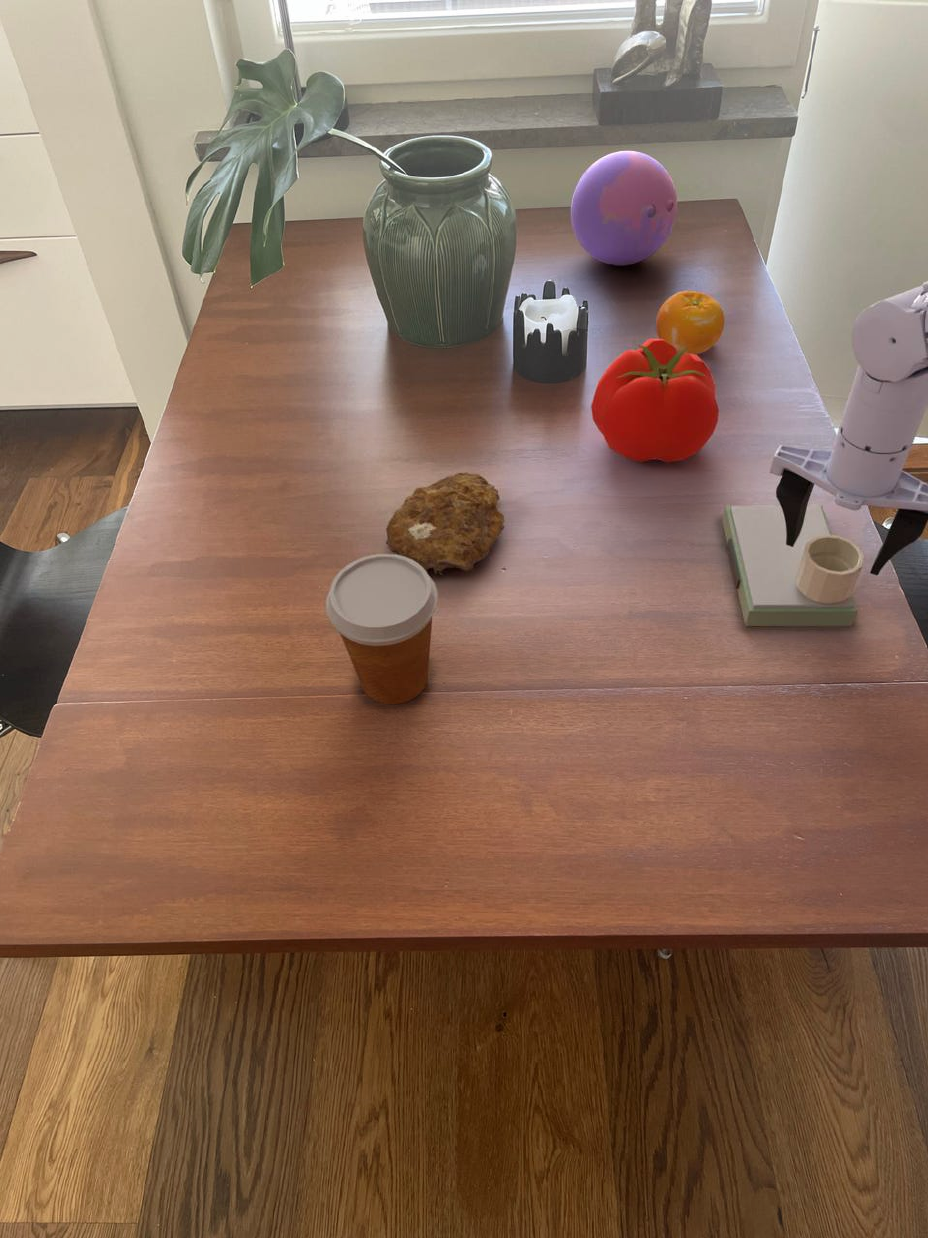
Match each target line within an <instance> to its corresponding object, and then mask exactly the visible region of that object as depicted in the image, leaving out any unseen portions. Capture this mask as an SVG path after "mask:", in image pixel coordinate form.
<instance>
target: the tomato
mask: <svg viewBox="0 0 928 1238" xmlns="http://www.w3.org/2000/svg"><path fill="white" fill-rule="evenodd" d="M635 344H636V346H637V347H639V348H638V349H637V350H633V349H627V350H625V351H624V352H622V353H621V354H620V355H619V356H618V357H616V358H615V359H614V361H612V363H611V364H610V365H609V366H608V367H607V368H606V370H605V371H604V372H603V374H602V376H601V377H600V378H599V380H598V381H597V385H596V388H595V391H594V395H593V398H592V402H591V406H590V409H591V415H592V420H593V422H594V424H595V426H596V427H597V429H598V431H599V432H600V434H601V435H602V436H603V438H604V440H605V442H606V444H607V447H608V448H609V449H611V450H612V451H614V452H616V453H617V454H619V455H621V456H622V457H624V458H625V459H628V460H632V461H635V462H638V463H643V462H647V461H650V460H657V461H658V460H659V461H662V462H665V463H671V462H679V461H683V460H685V459H688V458H690V457H692V456H693V455H695V454H696V453H699V451H700V450H702V448H703V447H704V446H705V445H706V444H707V442H708V441H709V440H710V439H711V438H712V436H713V435H714V434H715V430H716V428H717V425H718V422H719V414H720V409H719V405H718V400H717V397H716V385H715V381H714V377H713V373H712V371H711V370H710V369H709V367H708V365H707V364H706V363H705V362H704V360H703V359H701V357H700V356H699V354H696V355H695V354H690V353H688V354H683V352H684V351H686V350H687V349H688V348H689V347H687V348H685V349H683V350H680V351H679V352H677V350H676V348H675V347H673V346H672V345H670V344H669V343H667V342H666V341H665V340H663V339H659V338H648V339H647V340H646V341H645V342H644V343H642V344H639V343H637V342H635Z"/></svg>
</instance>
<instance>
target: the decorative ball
mask: <svg viewBox="0 0 928 1238" xmlns="http://www.w3.org/2000/svg"><path fill="white" fill-rule="evenodd" d="M673 181H674V180H673V179H672V177H671V176H670V174H669V171H667V170H666V168H665V167H664V166H663V165H662V164H661V163H660V162H659V161H657V159H655V158H654V157H651V156H650V155H648V154H645V153H643V152H639V151H634V150H622V151H617V152H612V153H609V154H607V155H605V156H603V157H601V158H599V159H598V160H597V161H595V162H594V163H592V164H591V165H590V166H589V167H588V168H587V170H586V171H585V172H584V173H583V174H582V176H581V177H580V178H579V181H578V182H577V184H576V186H575V189H574V192H573V195H572V199H571V205H570V219H571V220H570V221H571V226H572V229H573V232H574V234H575V235H574V236H575V237H576V240H577V241H578V243H579V244H580V246H581V247H582V248H583V249H584V251H586V253H587V254H589V255H590V256H591V257H592V258H593V259H595V260H597V261H599V262H601V263H604V264H607V265H611V264H613V265H612V266H630V265H635V264H637V263H640V262H642V261H644V260H646V259H648V258H649V257H651V256H652V255H654V254H655V253H657V251H658V250H659V249H660V248H661V247H662V246H663V245H664V244H665V243H666V241H667V239H668V238H669V237H670V235H671V233H672V232H673V230H674V227H675V224H676V220H677V213H678V212H677V211H678V197H677V191H676V188H675V183H674V182H673ZM629 264H630V265H629Z"/></svg>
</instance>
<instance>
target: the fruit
mask: <svg viewBox="0 0 928 1238" xmlns="http://www.w3.org/2000/svg"><path fill="white" fill-rule="evenodd" d="M724 313H725V312H724V310H723V308H722V306H721V304H720V303H719V302H718V301H717V300H716V299H715V298H714V297H712V296H711V295H708V294H707V293H705V292H701V291H695V290H682V291H679V292H677V293H674V294H672V295H671V296H670V297H668V298H667V299H666V300H665V301H664V302H663V304H662V305H661V306H660V309H659V310H658V313H657V316H656V321H655V330H656V334H657V336H658V337H657V338H658V339H663V340H665V341H666V342H667V343H669V344H670V345H672V346H673V347H675V348H676V350H677V352H679V351H680V350H683V349H685V348H687V347H689V348H688V349H687V350H686V351H684V352H683V354H688V353H690V354H695V355H701V354H703V353H705V352H707V351H709V349H711V348H712V347H714V346H715V345H716V344H717V343H718V342H719V340H720V339H721V337H722V336H723V332H724V328H725V314H724Z"/></svg>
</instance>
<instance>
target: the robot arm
mask: <svg viewBox="0 0 928 1238" xmlns="http://www.w3.org/2000/svg"><path fill="white" fill-rule="evenodd" d="M853 324H854V325H853V328H852V331H851V332H852V333H851V346H852V351H853V354H854V356H855V359H856V361H857V363H858V366H857V370H856V373H855V376H854V378H853V382H852V385H851V389H850V392H849V395H848V397H847V401H846V405H845V407H844V411H843V413H842V417H841V420H840V423H839V428H838V430H837V433H836V436H835V440H834V443H833V447H832V449H831V450H829V449H828V450H827V449H814V448H802V447H797V446H796V447H795V446H790V445H787V444H783V443H781V444H780V445H779V447H778V448H777V450H776V452H775V453H774V455H773V458H772V461H771V464H770V465H771V466H770V470H769V474H771V475H775V476H778V477H781V478H780V480H779V482H778V485H777V486H776V490H775V494H776V500H777V501H778V503H779V505H781V508H782V510H783V514H784V518H785V523H786V545H788V546H791V547H793V546H794V544H795V542H796V540H797V538H798V537H799V535H800V532H801V529H802V526H803V523H804V518H805V514H806V509H807V505H809V501H810V498H811V495H812V492H813V489H814V486H816V487H819V488H820V489H822V490H823V491H825V492H827V493H829V494H831V495H832V496H834V497H835V499H834V503H835V505H837V506H839V507H841V508H845V509H848V510H851V511H854V512H855V511H859V510H861V508H862V506H868V507H869V506H870V507H881V508H889V509H891V508H892V509H897V511H896V513H895V516H894V518H893V519H892V522H891V525H890V526H889V529H888V532H887V535H886V537H885V539H884V540H883V543H882V545H881V546H880V549H879V550H878V553H877V555H876V557H875V559H874V562H873V564H872V566H871V569H870V572H869V574H871V575H875V576H878V575H879V574H880V572H881V571H882V569H883V568H884V566H885V565H886V564H887V563H888V562H889V561H890V560H891V559H892V558H893V557H894V556H895V555H896V554H897V553H898V552H900V551H902V550H903V549H904V548H906V547H908V546H909V545H911V544H913V543H915V542H916V541H917V540H918V539H919V538H920V537H921V536H922V534H923V533H924V531H925V528H926V526H927V524H928V483H926V482H925V481H923V480H921V479H920V478H917V477H915V476H913V475H912V474H910V473H908V472H906V471H904V470H903V469H904V467H905V464H906V462H907V459H908V456H909V454H910V451H911V449H912V446H913V443H914V441H915V438H916V436H917V434H918V431H919V428H920V426H921V424H922V421H923V418H924V415H925V413H926V411H927V408H928V280H926V281H925V282H924V283H923V284H922V285H919V286H917V287H914V288H912V289H909V290H907V291H904V292H901V293H898V294H895V295H893V296H890V297H888V298H885V299H880V300H879V301H877V302H875V303H873V304H872V305H870V306H868V307H866V308H865V309H863V310H862V311H861V312H860V314H859V315H858V316H857V318H856V319H855V321H854V323H853Z"/></svg>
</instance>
